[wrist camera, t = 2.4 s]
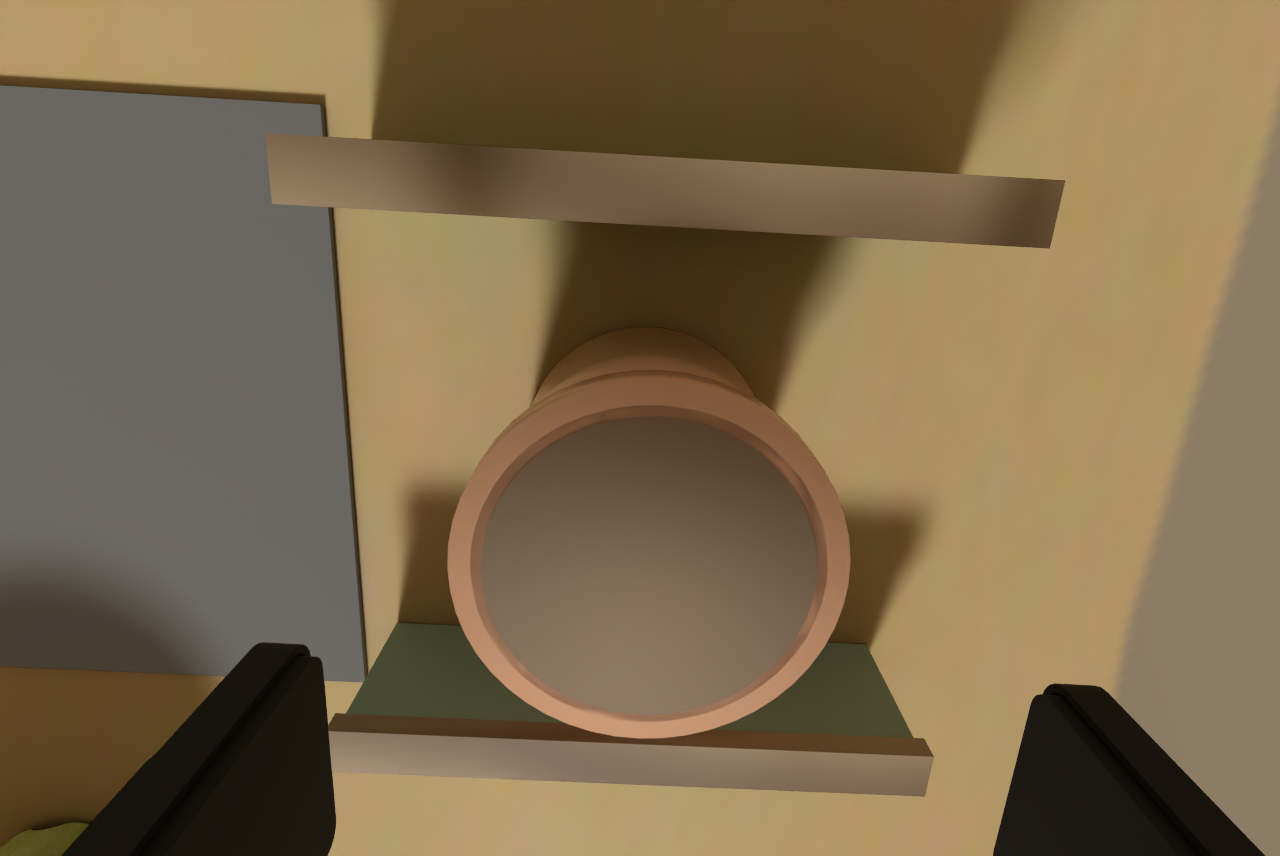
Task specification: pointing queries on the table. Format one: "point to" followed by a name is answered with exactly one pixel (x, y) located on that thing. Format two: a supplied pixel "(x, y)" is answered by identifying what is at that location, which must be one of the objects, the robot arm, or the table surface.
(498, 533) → the seedling pot
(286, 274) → the mat
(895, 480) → the table surface
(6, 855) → the plant pot
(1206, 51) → the table surface
